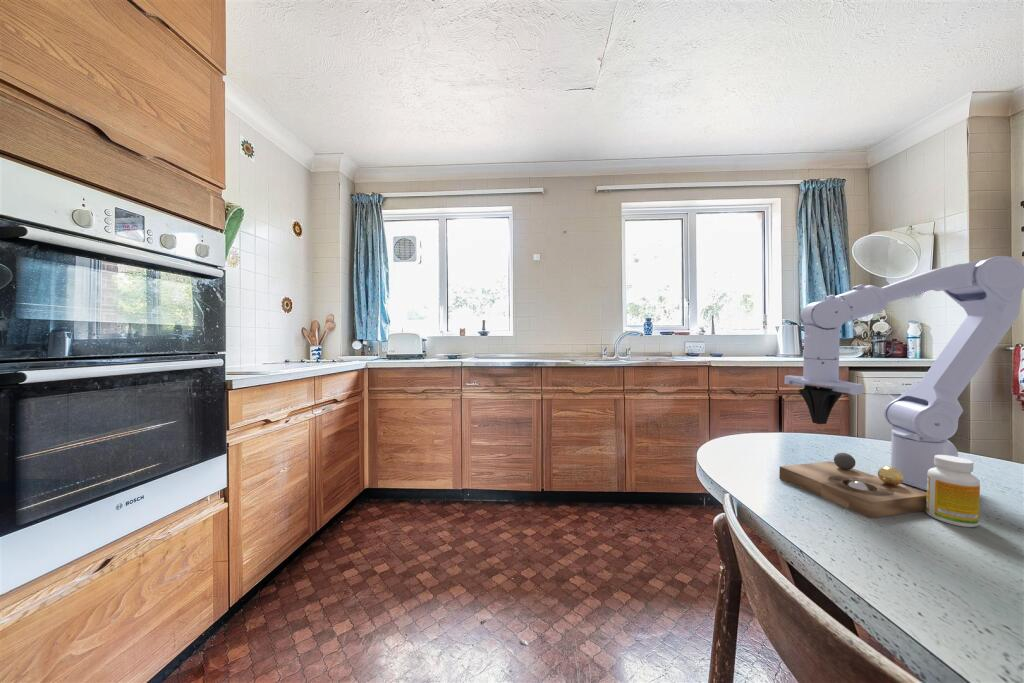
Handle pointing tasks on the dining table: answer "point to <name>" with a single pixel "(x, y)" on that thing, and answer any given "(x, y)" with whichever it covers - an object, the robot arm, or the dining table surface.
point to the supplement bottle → (953, 491)
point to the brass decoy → (890, 475)
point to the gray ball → (844, 461)
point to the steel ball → (858, 485)
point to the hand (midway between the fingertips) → (819, 423)
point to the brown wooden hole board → (854, 489)
